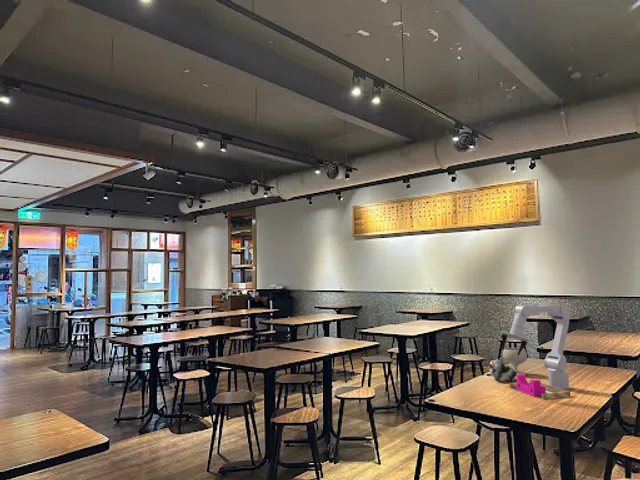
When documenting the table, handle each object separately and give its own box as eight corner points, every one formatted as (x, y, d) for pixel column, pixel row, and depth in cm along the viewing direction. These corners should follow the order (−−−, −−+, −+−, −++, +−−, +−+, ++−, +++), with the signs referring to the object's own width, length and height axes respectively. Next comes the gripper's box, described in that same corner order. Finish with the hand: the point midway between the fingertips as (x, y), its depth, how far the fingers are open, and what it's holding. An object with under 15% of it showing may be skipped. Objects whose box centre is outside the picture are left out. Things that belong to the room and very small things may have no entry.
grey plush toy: (512, 384, 248) (498, 361, 250) (493, 389, 256) (480, 367, 258) (520, 372, 259) (507, 350, 261) (502, 377, 267) (489, 356, 269)
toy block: (545, 395, 223) (545, 380, 223) (534, 396, 222) (533, 381, 222) (528, 388, 237) (527, 374, 238) (517, 389, 237) (516, 374, 237)
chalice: (513, 370, 284) (512, 346, 285) (533, 374, 272) (531, 349, 273) (498, 373, 277) (497, 348, 278) (518, 377, 265) (517, 351, 266)
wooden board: (534, 385, 245) (534, 380, 245) (570, 396, 222) (570, 391, 222) (509, 387, 240) (509, 383, 240) (543, 399, 217) (543, 394, 217)
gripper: (502, 321, 234) (495, 345, 231) (532, 330, 226) (525, 355, 223) (503, 324, 240) (496, 348, 237) (532, 333, 232) (525, 358, 229)
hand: (510, 352), depth 230 cm, fingers open, 7 cm apart
